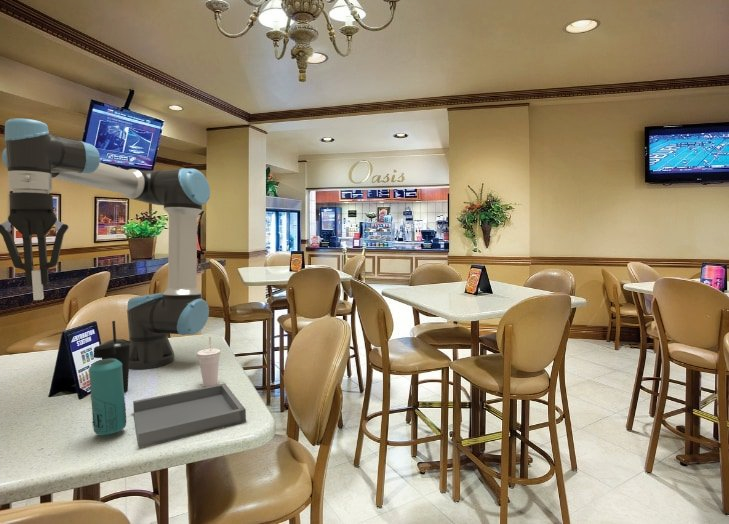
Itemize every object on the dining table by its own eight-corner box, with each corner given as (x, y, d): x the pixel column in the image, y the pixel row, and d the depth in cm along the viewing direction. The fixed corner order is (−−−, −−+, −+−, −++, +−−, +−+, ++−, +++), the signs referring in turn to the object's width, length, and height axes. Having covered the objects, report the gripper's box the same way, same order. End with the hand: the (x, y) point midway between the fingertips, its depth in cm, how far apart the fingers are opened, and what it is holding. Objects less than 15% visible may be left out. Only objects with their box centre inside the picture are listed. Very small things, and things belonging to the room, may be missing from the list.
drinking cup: (109, 399, 113) (104, 325, 112) (97, 393, 118) (92, 322, 116) (138, 390, 119) (134, 320, 118) (126, 385, 124) (122, 317, 122)
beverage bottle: (133, 427, 97) (128, 341, 95) (115, 442, 90) (109, 349, 89) (105, 427, 97) (99, 341, 95) (85, 442, 90) (79, 349, 89)
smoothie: (214, 389, 120) (212, 340, 119) (193, 387, 121) (191, 339, 120) (226, 381, 126) (224, 334, 125) (206, 379, 127) (204, 333, 126)
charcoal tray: (133, 413, 105) (133, 401, 104) (225, 394, 116) (225, 383, 116) (139, 448, 88) (138, 434, 87) (246, 421, 99) (245, 409, 99)
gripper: (-12, 190, 87) (-3, 304, 89) (65, 192, 94) (72, 298, 95) (-4, 193, 94) (4, 299, 95) (68, 194, 100) (75, 294, 102)
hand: (38, 299), depth 95 cm, fingers closed
